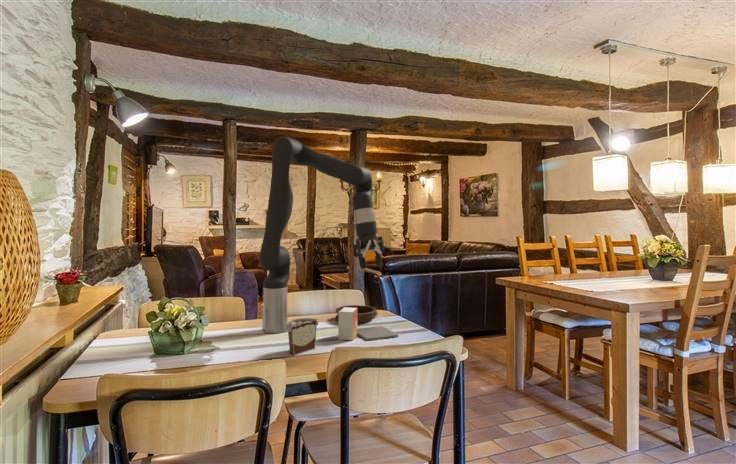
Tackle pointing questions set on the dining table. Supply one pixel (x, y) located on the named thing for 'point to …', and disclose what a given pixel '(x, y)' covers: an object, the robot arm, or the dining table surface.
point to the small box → (347, 323)
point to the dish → (361, 313)
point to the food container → (302, 335)
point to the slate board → (375, 333)
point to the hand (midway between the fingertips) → (371, 267)
